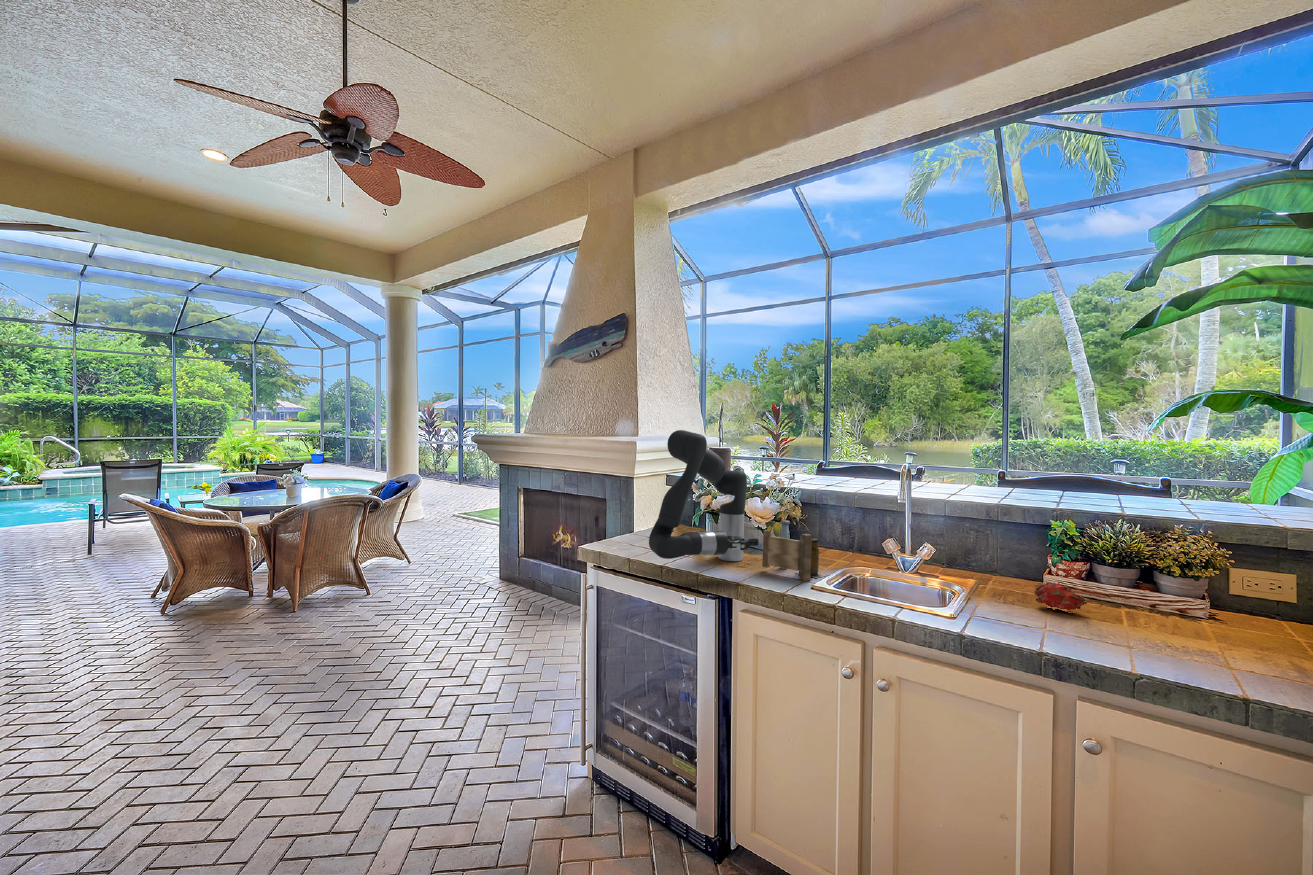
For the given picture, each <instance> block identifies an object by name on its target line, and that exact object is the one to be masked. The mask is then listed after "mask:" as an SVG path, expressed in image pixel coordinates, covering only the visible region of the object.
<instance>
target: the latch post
mask: <svg viewBox="0 0 1313 875" xmlns="http://www.w3.org/2000/svg"><path fill="white" fill-rule="evenodd" d="M780 524H781V534H780V537H781V538H787V539H789V526H790V524H791V522H790V520H784V519H783V520H780ZM779 569H781V570H787V569H786V568H781V567H779Z"/></svg>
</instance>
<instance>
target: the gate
mask: <svg viewBox="0 0 1313 875" xmlns="http://www.w3.org/2000/svg"><path fill="white" fill-rule="evenodd" d="M762 536H763V538H762V564H761V565H762V566H761V567H763V568H769V567H770V566H772V567H777V568H780V567H781V568H786V569H785V570H787V569H788V570H792V571H795V572H799V574H798V576H799V577H800V556H801V535H800V536H799V539H792V538H788V539H787V538H781V536H780V537H779V536H774V535H771V530H768V529H765V530H763V535H762Z"/></svg>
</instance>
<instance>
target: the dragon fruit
mask: <svg viewBox="0 0 1313 875" xmlns="http://www.w3.org/2000/svg"><path fill="white" fill-rule="evenodd" d="M1033 593H1034V595H1035V597H1037V598H1035V601H1036V602H1037V603H1038V604H1045V606H1046V605H1048V606H1050V607H1057V608H1060V609H1067V610H1069V611H1072V610H1073V611H1074V610H1079V609H1080V610H1081V607H1082V606H1084V605H1087V604H1088V603H1087V601H1086V599H1085V597H1083V596H1082V595H1080V594H1077V593H1075V591H1074V590H1072V588H1070V587H1069V586H1068V585H1067V584H1065V585H1062V584H1061V583H1060V582H1057V583H1056V582H1052V583H1051V582H1050V581H1046V582H1045V583H1043V582H1042V583H1040V585H1038V586H1036V587H1035V590H1033ZM1076 608H1077V609H1076Z"/></svg>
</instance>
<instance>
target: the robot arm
mask: <svg viewBox="0 0 1313 875" xmlns="http://www.w3.org/2000/svg"><path fill="white" fill-rule="evenodd" d="M707 443H708V441H707V439H706V437H705V436H704V435H703V434H700V433H695V432H692V431H689V430H684V429H678V430H675V431H673V432H672V433H671V434H670V435H669V437H668V440H667V444H666V445H667V450H668V453H669V454H670V456H671V457H672V458H674V459H676V460H679V461H681V462H683V463H685V464H686V466H685V469H684V472H683V473H681V474H682V475H681V476H680V477H679V478H678V480H676V482H675V483H674V484H673V485H672V486H671V487H670V488H669V489H668V490H667V492H666V493H665V495H664V496H663V499H662V502H661V505H660V509H659V514H658V517H657V519H656V521H655V524H654V525H653V527H652V529H651V532H650V534H649V537H648V547H649V549H650V551H652V553H654V554H655V555H656V556H657V557H659V558H661V559H667V560H669V559H671V560H673V559H676V558H681V557H685V556H717V558H718V559H719V560H722V561H726V562H727V561H728V562H740V561H742V560H744V551H745V550H747V549H750V547H752V546H753V547H756V546H759V539H758V538H756V537H751V538H750V537H749V538H748V537H745V536H744V534H745V533H744V532H745V530H744V529H745V508H746V500H747V499H746V498H747V488H748V487H747V485H748V480H747V479H748V478H747V474H746V473H745V471H742V470H731V469H729V470H728V469H726V464H725V461H724V459H723V458H721V457H720V455H718V454H717V453H716V452H714V451H713V450H710V449H708V448H707V447H708V444H707ZM697 475H699V476H700V477H702V478H703V480H706V481H707V482H709V483H710V484H711V485H712V486H713V488H715V490H716V491H718V493H720V494H722V495H729V496H734V497H733V499H732V500H731V501H730V502H726V503H723V504H720V505H719V523H718V524H719V525H718V530H717V531H716V530H715V531H714V530H713V531H712V530H711V531H709V530H708V531H698V532H682V533H681V534H680V535H678V536H672V533H673V531H674V529H675V528H679V526H680V524H681V522H682V517H683V513H684V510H685V506H686V502H687V500H688V496H689V494H690V491H691V489H692V487H693V485H694V482H695V481H696V478H697Z"/></svg>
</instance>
